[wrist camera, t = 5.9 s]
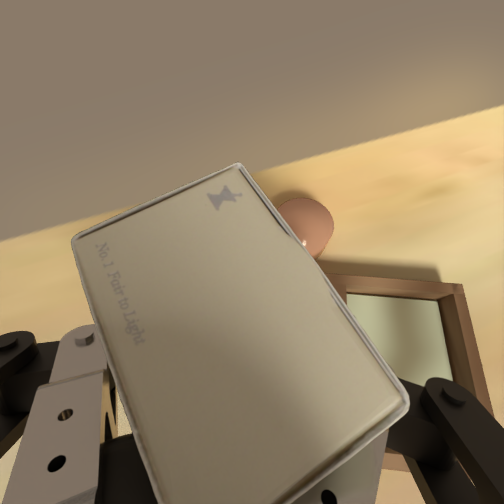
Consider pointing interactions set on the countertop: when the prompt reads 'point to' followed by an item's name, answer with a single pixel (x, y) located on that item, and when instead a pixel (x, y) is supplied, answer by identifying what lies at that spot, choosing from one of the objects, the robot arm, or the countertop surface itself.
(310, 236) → the pinkish brown rounded piece
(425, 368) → the walnut organizer
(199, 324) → the skincare box
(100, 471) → the robot arm
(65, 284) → the countertop surface
